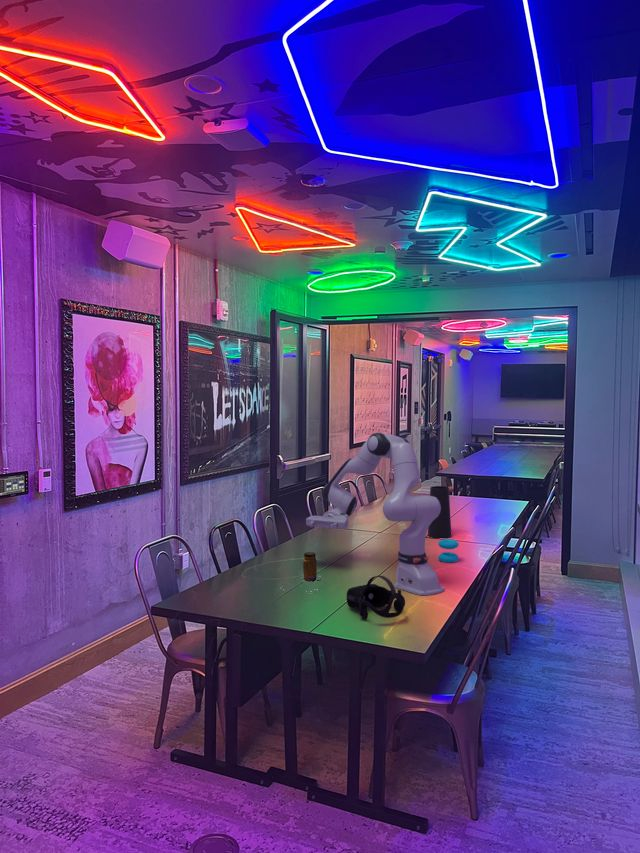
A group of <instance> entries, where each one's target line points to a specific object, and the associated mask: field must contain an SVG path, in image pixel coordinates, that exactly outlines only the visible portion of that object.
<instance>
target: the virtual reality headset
mask: <svg viewBox="0 0 640 853" xmlns="http://www.w3.org/2000/svg"><path fill="white" fill-rule="evenodd" d="M375 578H380V579H382V580H384V581H385V582H386V584H387V585H388V587H389V589H390V590H389V589H388V588H386V587H385V586H380V585H379V584H376V583H372V582H373V581H374V580H375ZM346 604H347V606H348V607H349V608H353V609H358V613H359V616H360V618H361V619H362V620H363V621H365V620H367V619H368V617H369V612H368V608H369V609H370V610H371V611H372V612H373V613H374V614H376V615H378V616H380V617H381V618H386V619H388V618H389V619H390V618H391V619H392V618H396V617H398V616H400V615H401V614H402V613H403V611H404V609H405V605H406V599H405V597H404V595H402V590H401V589H397V590H396V588H395V587H394V584H393V583H392V581H391V580H390V579H389V578H388V577H386V576H384V575H375V576H372V577H370V579H368V581H367V583H366V584H363V585H358V586H353V587H349V589H347V591H346ZM392 605H393V609H394V611H395V612H390V610H391V608H392ZM383 607H384V608H383ZM379 608H381V609H379ZM382 608H383V609H382Z"/></svg>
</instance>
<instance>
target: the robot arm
mask: <svg viewBox="0 0 640 853" xmlns="http://www.w3.org/2000/svg"><path fill="white" fill-rule="evenodd" d="M382 458H386V459H391V461H392V468H393V470H392V471H393V479H394V480H393V481H394V484H393V486H394V487H393V490H392V492H391V494H390V496H389V497H387V498H386V499H385V501H384V503H383V506H382V512H383V515H384V517H385V518H386V520H387V521H390V522H396V523H397V522H398V523H400V522H402V523H403V522H410V523H409V526H407V527H406V528H405V529H404V530H401V532H400V533H399V538H398V539H399V540H398V542H399V544H398V546H399V551H398V555H397V558H398V559H397V560H398V565H397V567H396V576H395V578H396V579H395V583H394V584H393V586H394V588H395V589H397V590H401V591H405V592H409V593H411V594H415V595H418V596H431V595H436V594H440V593H442V592H444V591H445V587H444V586H442V585H440V584H439V583H440V582H439V576H438V574H437V572H436V571H435V570H434V569H433V568H432V566H431V565H430V564H429V562H428V560H429V556H427V553H426V536H427V533H428V527H429V526H430V524H431V523H432V521H433V520H434V519H436V518H437V517H438V516H439V514H440V511H441V505H440V502H439V501H438V499H437V498H436V497H433V496H430V495H427V494H423V495H422V494H420V495H411V490H412V489H414V488H415V487H417V486H418V485H419V483H420V482H421V481H420V480H421V477H420V472H419V471H420V470H419V465H418V461H417V456H416V452H415V450H414V447H413V445H412V444H411V443H410V442H409V440H408V439H407V438H404V437H402V436H397V435H395V434H394V435H393V434H390V433H382V432H375V433H372V434H371V435H370V436H369V437H368V438H367V439H366V440H365V442H364V443H363V444H362V446H361V448H360V449H359V451H358V452H357V454H356V455H355V457H353V458H348V459H347V460H345V462H344V463H343V464H342V465H341V466H340V467H339V468H338V470H337V471H336V473H335V474H334V475H333V476H332V478H331V479H330V480H329V481H328V483H326V484H325V486H324V487H323V488H322V490H321V496H322V499H323V500H324V501H326V502H328V503H330V504H331V505H333V506H334V507H333V508H331V509H329V510H328V511H326V512H324V514H322V515H310V516H308V517H307V518H305V525H306V526H307V527H310V528H315V527H318V528H327V529H329V530H334V529H336V530H337V529H338V530H346V529H347V528H349V517H350V516H351V515H352V514H354V512H355V510H356V508H357V506H358V500H357V497H356V495H354V494H352V493H351V492H350V491H348V490H347V489H345V488H343V487H341V486H340V482H341V481H342V480H343V478H345V476H346V475H347V474H355V475H361V476H368V475H371V474H373V472H374V471H376V468H377V467H378V465H379V463H380V462H381V459H382Z"/></svg>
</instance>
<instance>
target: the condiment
mask: <svg viewBox="0 0 640 853" xmlns="http://www.w3.org/2000/svg"><path fill="white" fill-rule="evenodd" d="M316 556H317V555H316V553H315V552H314V551H307V552H305V553H304V554H303V560H302V561H303V562H302V566H303V567H302V569H303V573H302V574H303V577H302V578H304V580H305V581H304V580H303V582H311V581H312V582H314V581H315V580H316V578H317V573H318V572H317V567H318V565H317V557H316ZM321 576H322V575H318V577H321ZM317 581H322V580H321V579H320V580H317Z"/></svg>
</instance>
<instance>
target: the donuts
mask: <svg viewBox="0 0 640 853" xmlns="http://www.w3.org/2000/svg"><path fill="white" fill-rule="evenodd" d="M437 543H438V544H437V545H438V547H440V548H441V549H443V550H455V549H457V548H458V547H459V544H460V543H459V541H457V540H455V539H450V538H447V539H439V541H438V542H437ZM437 557H438V561H440V562H442V563H447V562H448V563H449V564H451V563H452V562H453V563H456V562H458V561H459V559H460V557H459V555H458V554H457V553H455V552H451V551H450V552H449V551H445V552H441V553H439V554H438V556H437ZM453 563H452V564H453Z"/></svg>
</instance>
